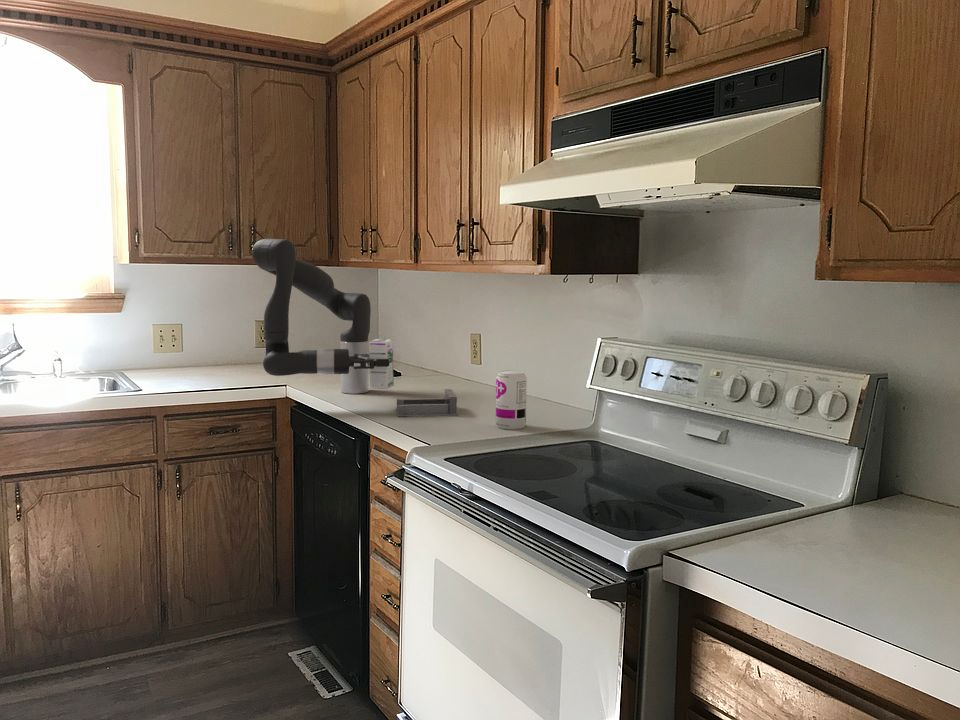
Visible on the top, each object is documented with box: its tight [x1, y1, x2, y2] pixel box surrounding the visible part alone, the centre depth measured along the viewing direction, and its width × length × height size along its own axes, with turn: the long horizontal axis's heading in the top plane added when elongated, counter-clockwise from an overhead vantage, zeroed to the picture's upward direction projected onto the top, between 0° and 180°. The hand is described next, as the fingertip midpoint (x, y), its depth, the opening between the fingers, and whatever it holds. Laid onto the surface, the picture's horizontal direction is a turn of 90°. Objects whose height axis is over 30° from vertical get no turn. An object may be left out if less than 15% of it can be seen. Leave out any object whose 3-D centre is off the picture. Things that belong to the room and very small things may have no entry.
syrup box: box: [368, 338, 395, 390], centre depth 244 cm, size 6×6×14 cm
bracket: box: [395, 388, 458, 418], centre depth 240 cm, size 14×17×6 cm
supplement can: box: [495, 369, 528, 431], centre depth 219 cm, size 8×8×15 cm
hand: (388, 360), depth 244 cm, fingers closed on syrup box, 7 cm apart
